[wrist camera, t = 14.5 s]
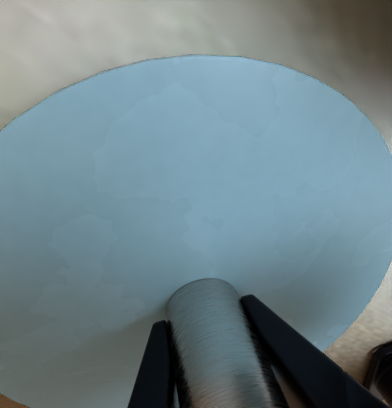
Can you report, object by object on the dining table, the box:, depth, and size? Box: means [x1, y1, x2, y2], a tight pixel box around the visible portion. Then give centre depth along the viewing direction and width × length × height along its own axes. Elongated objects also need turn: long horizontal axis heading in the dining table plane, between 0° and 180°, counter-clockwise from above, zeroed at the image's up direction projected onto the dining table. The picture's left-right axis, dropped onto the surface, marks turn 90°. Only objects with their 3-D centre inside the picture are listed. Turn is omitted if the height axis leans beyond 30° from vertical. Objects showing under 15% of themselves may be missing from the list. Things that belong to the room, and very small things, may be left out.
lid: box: [0, 54, 392, 408], centre depth 8 cm, size 15×15×6 cm
